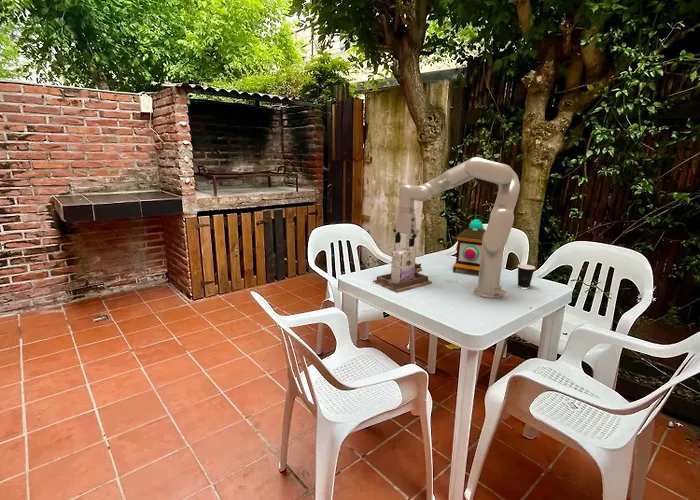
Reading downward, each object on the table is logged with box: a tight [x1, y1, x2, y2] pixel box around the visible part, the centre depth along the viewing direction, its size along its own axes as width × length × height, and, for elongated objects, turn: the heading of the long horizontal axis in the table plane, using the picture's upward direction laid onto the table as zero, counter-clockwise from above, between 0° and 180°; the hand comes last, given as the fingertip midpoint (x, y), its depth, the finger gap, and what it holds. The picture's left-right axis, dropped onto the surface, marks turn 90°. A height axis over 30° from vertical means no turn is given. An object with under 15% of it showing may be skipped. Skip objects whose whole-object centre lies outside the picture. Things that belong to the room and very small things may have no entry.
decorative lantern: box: [452, 218, 486, 273], centre depth 208 cm, size 20×20×30 cm
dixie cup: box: [517, 263, 536, 288], centre depth 184 cm, size 8×8×11 cm
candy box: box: [390, 246, 417, 283], centre depth 187 cm, size 14×6×16 cm, turn 139°
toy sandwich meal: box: [415, 262, 423, 273], centre depth 213 cm, size 12×14×5 cm
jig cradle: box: [372, 272, 433, 294], centre depth 188 cm, size 18×24×4 cm
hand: (404, 244), depth 184 cm, fingers open, 9 cm apart
